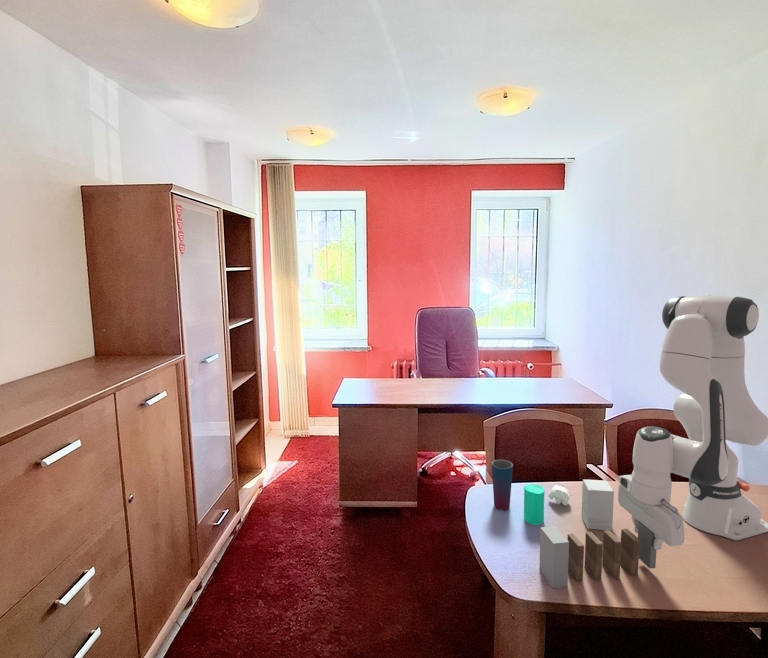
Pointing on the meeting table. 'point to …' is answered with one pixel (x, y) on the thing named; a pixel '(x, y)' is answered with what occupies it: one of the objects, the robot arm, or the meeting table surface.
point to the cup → (502, 483)
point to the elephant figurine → (559, 494)
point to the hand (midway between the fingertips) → (647, 540)
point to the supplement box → (597, 504)
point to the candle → (534, 504)
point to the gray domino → (646, 546)
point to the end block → (554, 556)
